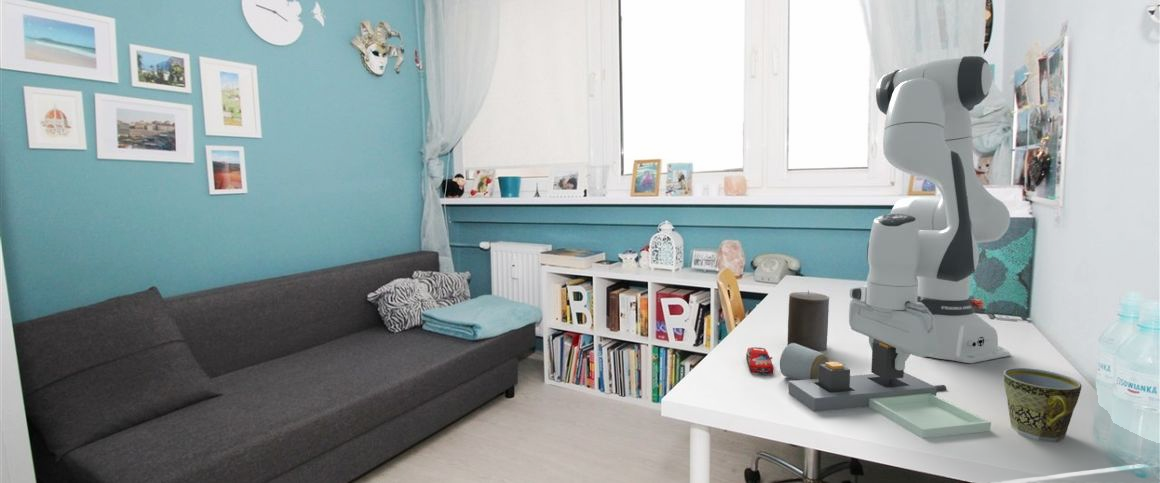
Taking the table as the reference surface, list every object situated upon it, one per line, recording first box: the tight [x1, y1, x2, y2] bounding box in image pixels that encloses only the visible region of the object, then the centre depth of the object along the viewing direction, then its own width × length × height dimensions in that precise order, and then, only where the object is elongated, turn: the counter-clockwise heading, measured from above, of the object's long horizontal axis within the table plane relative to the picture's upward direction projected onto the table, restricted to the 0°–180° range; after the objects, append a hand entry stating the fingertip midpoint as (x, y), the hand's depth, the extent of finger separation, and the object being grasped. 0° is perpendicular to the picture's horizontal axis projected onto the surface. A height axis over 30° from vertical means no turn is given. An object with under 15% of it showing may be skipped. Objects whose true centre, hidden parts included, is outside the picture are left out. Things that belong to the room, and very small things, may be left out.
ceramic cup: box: [1003, 367, 1082, 443], centre depth 90 cm, size 13×10×10 cm
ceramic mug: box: [779, 343, 830, 381], centre depth 119 cm, size 11×8×8 cm
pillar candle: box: [786, 290, 830, 353], centre depth 141 cm, size 10×10×15 cm
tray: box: [868, 393, 992, 439], centre depth 98 cm, size 13×13×2 cm
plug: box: [870, 342, 905, 379], centre depth 109 cm, size 4×4×7 cm
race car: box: [745, 346, 775, 375], centre depth 128 cm, size 13×5×4 cm, turn 167°
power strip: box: [788, 361, 947, 413], centre depth 109 cm, size 32×9×8 cm, turn 99°
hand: (888, 364), depth 109 cm, fingers closed on plug, 4 cm apart
